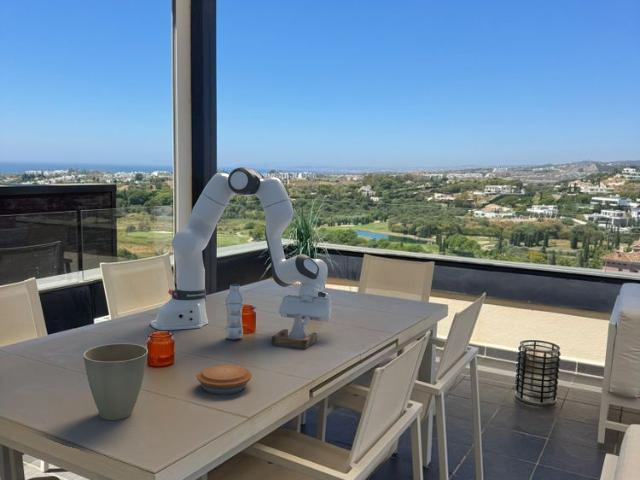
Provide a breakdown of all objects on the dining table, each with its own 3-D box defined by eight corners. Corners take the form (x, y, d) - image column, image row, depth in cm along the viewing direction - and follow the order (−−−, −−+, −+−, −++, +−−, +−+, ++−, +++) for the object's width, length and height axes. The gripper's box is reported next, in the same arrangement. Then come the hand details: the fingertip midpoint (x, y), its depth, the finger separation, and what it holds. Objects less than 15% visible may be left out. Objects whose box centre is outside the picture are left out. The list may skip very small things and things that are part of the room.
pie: (242, 400, 156) (242, 382, 155) (187, 394, 158) (187, 377, 158) (258, 380, 171) (258, 364, 170) (208, 376, 174) (208, 359, 173)
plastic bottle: (246, 339, 214) (247, 285, 212) (232, 342, 209) (233, 287, 207) (235, 335, 218) (236, 283, 216) (221, 338, 213) (221, 285, 211)
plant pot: (70, 420, 139) (69, 356, 138) (112, 399, 153) (112, 340, 152) (120, 431, 134) (120, 364, 132) (160, 408, 148) (160, 348, 146)
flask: (293, 344, 208) (293, 317, 207) (284, 339, 215) (285, 313, 214) (310, 342, 212) (311, 315, 211) (301, 337, 218) (302, 311, 217)
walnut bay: (305, 349, 204) (305, 340, 203) (271, 344, 208) (271, 336, 208) (316, 340, 214) (316, 332, 214) (284, 336, 219) (284, 329, 218)
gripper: (282, 290, 224) (271, 320, 216) (332, 294, 218) (323, 326, 210) (286, 299, 229) (276, 329, 221) (335, 304, 222) (327, 335, 214)
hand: (299, 327), depth 215 cm, fingers closed, pressing on flask
